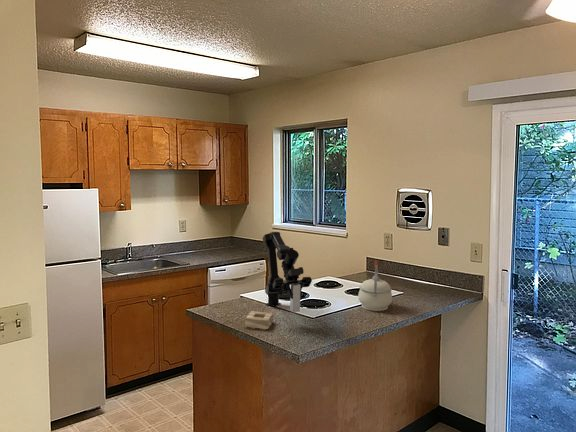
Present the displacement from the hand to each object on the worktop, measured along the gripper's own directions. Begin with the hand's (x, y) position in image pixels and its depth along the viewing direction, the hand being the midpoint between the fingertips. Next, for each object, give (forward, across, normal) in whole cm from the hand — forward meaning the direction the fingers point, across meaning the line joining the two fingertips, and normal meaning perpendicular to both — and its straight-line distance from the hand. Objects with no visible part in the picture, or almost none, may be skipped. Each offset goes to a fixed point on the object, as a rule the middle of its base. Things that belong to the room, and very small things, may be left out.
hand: (296, 298), depth 223 cm
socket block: (+6, -16, +14) cm, 22 cm away
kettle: (-3, +53, +22) cm, 58 cm away
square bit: (+4, 0, +6) cm, 7 cm away
